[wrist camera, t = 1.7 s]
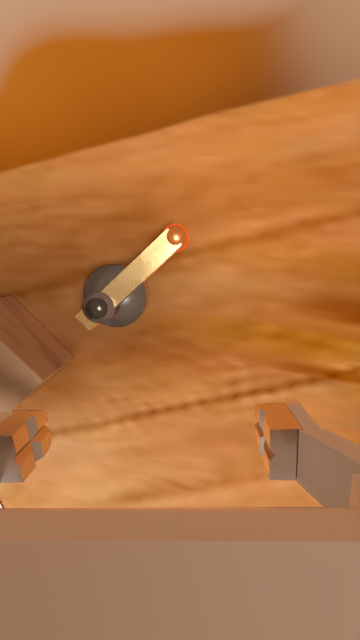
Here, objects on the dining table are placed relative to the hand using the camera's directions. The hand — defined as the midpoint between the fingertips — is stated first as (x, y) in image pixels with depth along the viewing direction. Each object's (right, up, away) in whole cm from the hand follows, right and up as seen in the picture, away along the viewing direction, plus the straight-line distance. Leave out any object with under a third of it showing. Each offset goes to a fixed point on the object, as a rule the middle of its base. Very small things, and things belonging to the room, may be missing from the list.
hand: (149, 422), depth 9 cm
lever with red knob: (-4, +10, +24) cm, 26 cm away
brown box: (-21, 0, +26) cm, 34 cm away
